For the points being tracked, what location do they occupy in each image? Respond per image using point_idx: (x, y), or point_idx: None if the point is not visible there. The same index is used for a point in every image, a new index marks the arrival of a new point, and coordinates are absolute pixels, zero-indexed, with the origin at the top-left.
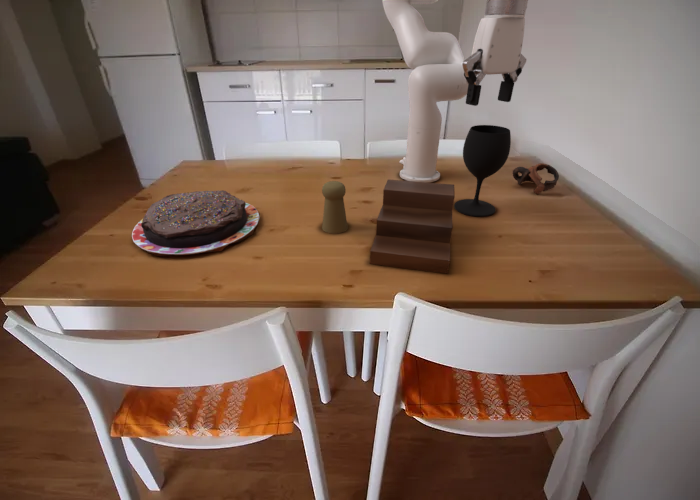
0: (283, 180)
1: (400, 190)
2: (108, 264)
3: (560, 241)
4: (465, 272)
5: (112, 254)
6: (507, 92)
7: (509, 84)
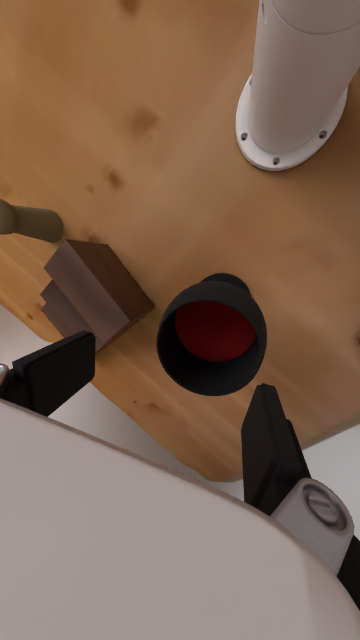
0: None
1: (59, 285)
2: None
3: (215, 404)
4: (105, 364)
5: None
6: (246, 452)
7: (248, 497)
